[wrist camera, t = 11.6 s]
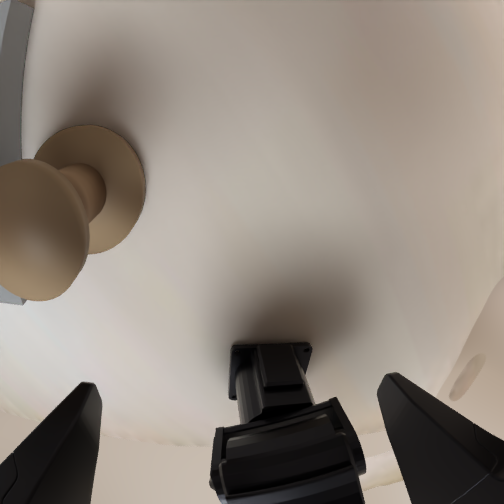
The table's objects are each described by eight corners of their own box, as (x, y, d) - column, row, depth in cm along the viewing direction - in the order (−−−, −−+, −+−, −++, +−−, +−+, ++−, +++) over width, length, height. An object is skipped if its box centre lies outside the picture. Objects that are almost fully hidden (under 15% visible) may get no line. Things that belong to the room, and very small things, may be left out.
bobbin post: (147, 249, 19) (117, 326, 12) (42, 246, 18) (-18, 310, 11) (146, 121, 16) (99, 126, 9) (32, 131, 15) (-51, 151, 8)
